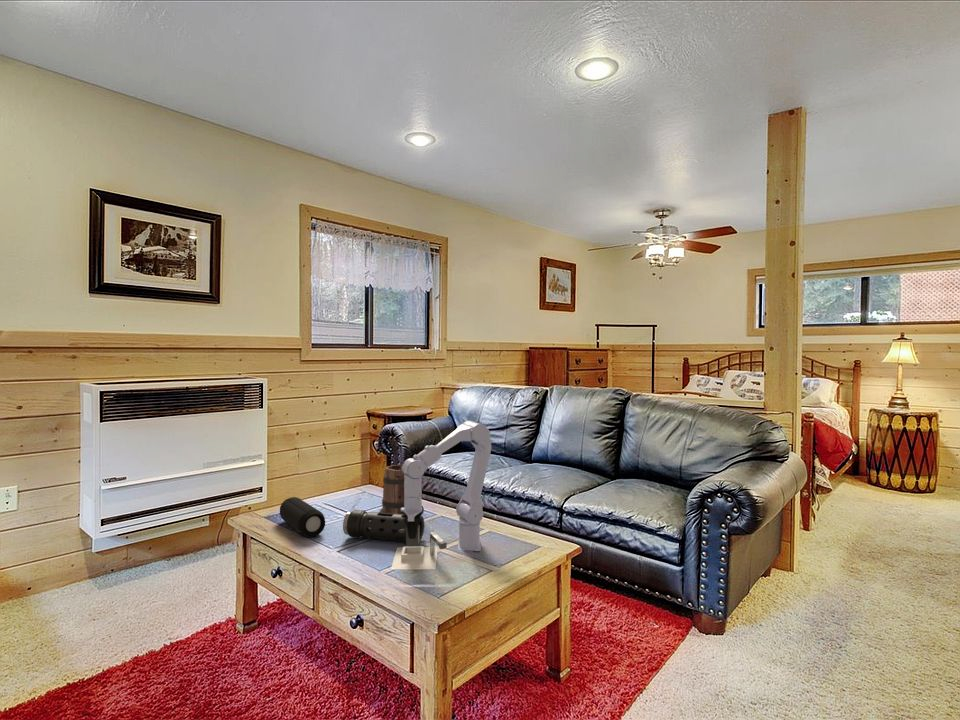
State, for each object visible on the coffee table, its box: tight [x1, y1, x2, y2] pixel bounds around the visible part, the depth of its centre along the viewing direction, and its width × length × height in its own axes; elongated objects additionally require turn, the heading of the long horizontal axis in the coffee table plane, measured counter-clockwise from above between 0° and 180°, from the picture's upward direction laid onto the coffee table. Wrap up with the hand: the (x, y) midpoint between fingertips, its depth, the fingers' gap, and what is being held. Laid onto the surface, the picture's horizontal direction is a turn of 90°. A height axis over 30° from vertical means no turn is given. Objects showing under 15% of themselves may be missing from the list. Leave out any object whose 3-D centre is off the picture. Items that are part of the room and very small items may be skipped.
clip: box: [429, 531, 448, 556], centre depth 169 cm, size 2×12×8 cm, turn 24°
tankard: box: [379, 464, 425, 516], centre depth 216 cm, size 24×17×20 cm
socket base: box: [390, 545, 439, 571], centre depth 173 cm, size 18×14×3 cm
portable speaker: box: [279, 496, 326, 538], centre depth 201 cm, size 26×10×10 cm, turn 40°
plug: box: [399, 524, 420, 547], centre depth 173 cm, size 4×7×6 cm, turn 92°
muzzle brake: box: [342, 509, 425, 543], centre depth 189 cm, size 10×28×10 cm, turn 78°
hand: (412, 535), depth 173 cm, fingers closed on plug, 4 cm apart
